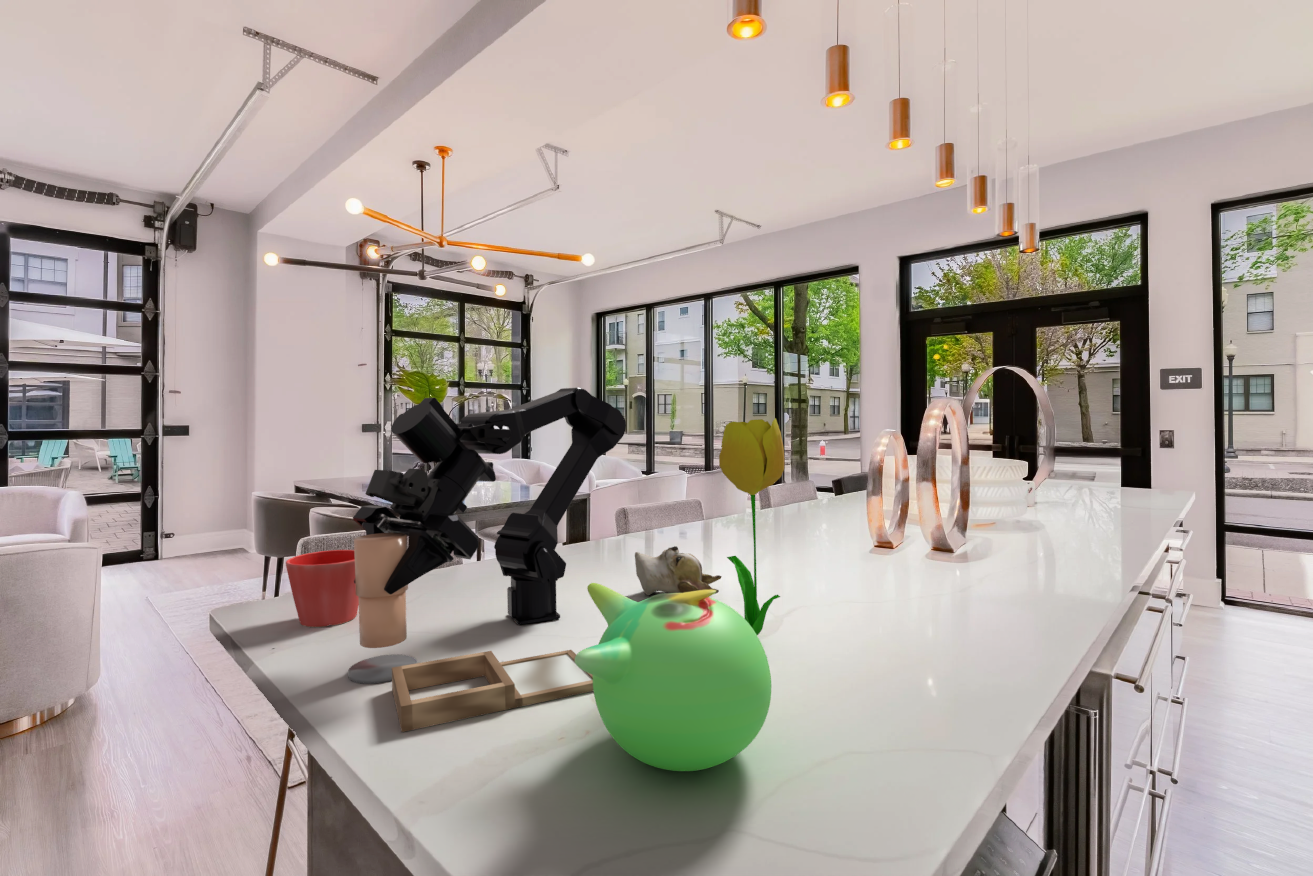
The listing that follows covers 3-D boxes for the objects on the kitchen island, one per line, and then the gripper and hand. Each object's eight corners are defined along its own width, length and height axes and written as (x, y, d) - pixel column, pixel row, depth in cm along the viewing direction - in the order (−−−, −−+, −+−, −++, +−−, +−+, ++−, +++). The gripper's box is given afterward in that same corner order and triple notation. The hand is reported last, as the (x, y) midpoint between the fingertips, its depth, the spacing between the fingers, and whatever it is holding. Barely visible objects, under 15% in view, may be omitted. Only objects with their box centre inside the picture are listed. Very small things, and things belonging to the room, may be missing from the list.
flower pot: (336, 633, 90) (334, 565, 90) (270, 629, 93) (268, 562, 92) (382, 611, 101) (381, 550, 101) (322, 608, 103) (320, 548, 103)
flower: (792, 636, 87) (791, 417, 86) (778, 656, 80) (776, 417, 79) (732, 628, 91) (730, 418, 90) (713, 646, 83) (711, 418, 83)
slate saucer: (413, 655, 81) (413, 650, 81) (420, 675, 75) (420, 670, 75) (347, 665, 78) (347, 661, 78) (348, 688, 71) (348, 683, 71)
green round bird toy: (797, 806, 49) (796, 616, 48) (575, 819, 47) (573, 624, 47) (745, 703, 66) (744, 564, 66) (584, 710, 65) (582, 568, 65)
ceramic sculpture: (640, 537, 115) (723, 543, 113) (638, 584, 115) (720, 591, 113) (629, 549, 105) (720, 557, 102) (627, 601, 105) (717, 609, 103)
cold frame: (571, 656, 80) (570, 637, 80) (604, 688, 70) (603, 666, 70) (392, 689, 71) (391, 667, 71) (401, 732, 61) (401, 706, 61)
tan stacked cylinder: (416, 631, 79) (414, 532, 79) (397, 648, 73) (394, 541, 73) (370, 632, 79) (367, 533, 79) (347, 649, 73) (344, 542, 73)
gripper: (364, 444, 84) (280, 541, 75) (456, 446, 74) (370, 558, 65) (418, 497, 91) (346, 591, 82) (508, 505, 80) (437, 614, 72)
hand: (371, 588), depth 75 cm, fingers closed on tan stacked cylinder, 6 cm apart
